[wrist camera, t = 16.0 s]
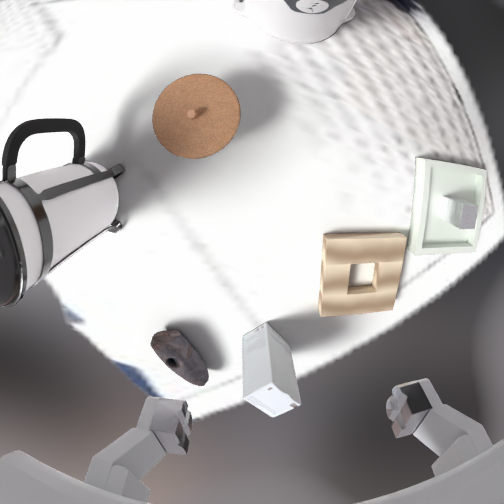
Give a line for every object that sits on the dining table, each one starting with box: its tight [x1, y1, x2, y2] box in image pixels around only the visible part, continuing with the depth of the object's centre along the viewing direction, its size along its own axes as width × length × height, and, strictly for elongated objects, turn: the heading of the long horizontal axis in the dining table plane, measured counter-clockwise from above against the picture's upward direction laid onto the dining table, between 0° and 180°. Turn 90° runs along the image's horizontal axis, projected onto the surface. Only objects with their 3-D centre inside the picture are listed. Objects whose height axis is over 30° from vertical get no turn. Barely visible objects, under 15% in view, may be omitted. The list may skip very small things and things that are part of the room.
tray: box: [407, 157, 487, 255], centre depth 38 cm, size 16×16×3 cm
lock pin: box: [440, 196, 478, 229], centre depth 36 cm, size 4×4×6 cm
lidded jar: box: [152, 74, 241, 159], centre depth 32 cm, size 11×11×9 cm
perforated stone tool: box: [151, 330, 209, 386], centre depth 49 cm, size 15×5×7 cm, turn 28°
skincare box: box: [242, 322, 301, 417], centre depth 44 cm, size 8×6×15 cm
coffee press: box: [0, 119, 125, 307], centre depth 26 cm, size 17×16×30 cm
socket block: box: [318, 233, 407, 317], centre depth 44 cm, size 14×14×2 cm
